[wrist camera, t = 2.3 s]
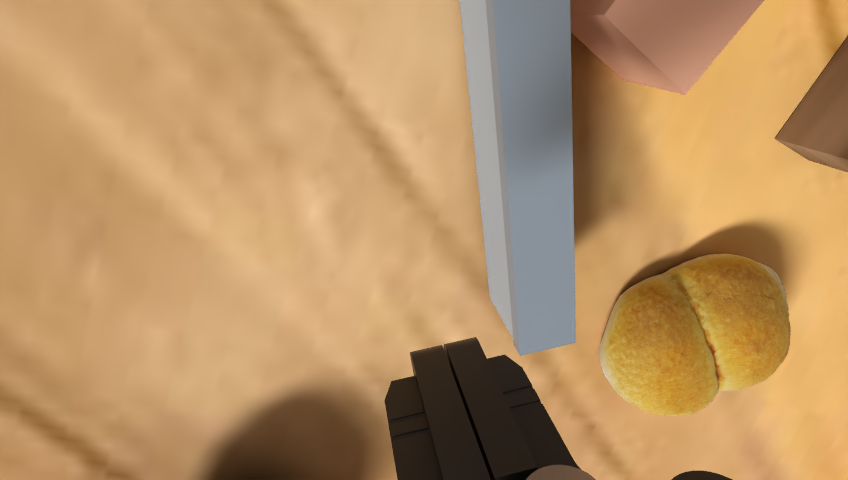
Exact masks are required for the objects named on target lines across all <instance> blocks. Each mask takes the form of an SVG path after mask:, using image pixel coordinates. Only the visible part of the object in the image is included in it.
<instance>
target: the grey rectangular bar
mask: <svg viewBox="0 0 848 480" xmlns="http://www.w3.org/2000/svg"><path fill="white" fill-rule="evenodd" d="M460 10H461V20H462V30H463V40H464V49H465V59H466V69H467V79H468V89H469V98H470V108H471V118H472V128H473V138H474V147H475V157H476V167H477V177H478V187H479V196H480V206H481V216H482V226H483V236H484V245H485V255H486V265H487V275H488V285H489V294H490V299H491V301H492V303H493V304H494V306H495V308H496V310H497V311H498V313H499V315H500V317H501V318H502V320H503V322H504V324H505V325H506V327H507V329H508V331H509V332H510V334H511V336H512V338H513V342H514V346H515V348H516V350H517V351H518V353H519V355H520V356H521V355H525V354H530V353H534V352H538V351H542V350H547V349H551V348H555V347H559V346H564V345H568V344H572V343H576V320H575V260H574V200H573V139H572V79H571V19H570V0H460Z"/></svg>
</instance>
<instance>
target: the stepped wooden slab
mask: <svg viewBox="0 0 848 480" xmlns="http://www.w3.org/2000/svg"><path fill="white" fill-rule="evenodd" d="M775 139H776V140H778V141H779V142H781V143H783V144H784V145H786V146H787V147H789V148H790V149H792V150H794V151H795V152H797V153H798V154H800V155H802V156H803V157H805V158H806V159H808V160H810V161H813V162H816V163H820V164H823V165H826V166H829V167H832V168H836V169H839V170H842V171H845V172H848V37H847V38H846V40H845V41H844V43H843V44H842V45H841V47H840V48H839V50H838V51H837V52H836V54H835V55H834V57H833V58H832V59H831V61H830V62H829V64H828V65H827V66H826V68H825V69H824V71H823V72H822V73H821V75H820V76H819V78H818V79H817V80H816V82H815V83H814V85H813V86H812V87H811V89H810V90H809V92H808V93H807V94H806V96H805V97H804V99H803V100H802V101H801V103H800V104H799V106H798V107H797V108H796V110H795V111H794V113H793V114H792V115H791V117H790V118H789V120H788V121H787V122H786V124H785V125H784V126H783V128H782V129H781V131H780V132H779V133H778V135H777V136H776V138H775Z"/></svg>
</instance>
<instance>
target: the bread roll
mask: <svg viewBox="0 0 848 480" xmlns="http://www.w3.org/2000/svg"><path fill="white" fill-rule="evenodd" d="M789 344H790V322H789V313H788V305H787V301H786V293H785V289H784V287H783V284H782V283H781V281H780V278H779V277H778V275H777V274H776V272H775V271H774V270H772V269H771V268H770V267H768V266H766V265H764V264H762V263H759V262H756V261H754V260H752V259H750V258H748V257H744V256H739V255H735V254H728V253H725V254H710V255H705V256H700V257H698V258H695V259H692V260H688V261H686V262H684V263H682V264H680V265H678V266H676V267H673V268H671V269H669V270H668V271H667V272H665V273H662V274H659V275H655V276H652V277H649V278H647V279H645V280H643V281H641V282H639V283H637V284H635V285H633V286H631V287H630V288H629V289H627V290H626V291H625V292H624V293H623V294H621V295H620V297H619V298H618V300H617V302H616V303H615V305H614V307H613V310H612V312H611V315H610V317H609V320H608V323H607V326H606V329H605V332H604V335H603V337H602V340H601V343H600V347H599V359H600V364H601V367H602V370H603V373H604V375H605V376H606V378H607V379H608V380H609V382H610V384H611V385H612V387H613V388H614V389H615V391H616V392H617V393H618V394H619V395H620V396H621V397H622V398H624V399H625V400H626V401H627V402H629V403H630V404H632V405H634V406H636V407H637V408H639V409H641V410H643V411H645V412H649V413H652V414H659V415H685V414H693V413H695V412H696V411H698V410H700V409H702V408H704V407H706V406H707V405H708V404H709V403H710V402H712V400H713V399H714V397H715V396H716V394H717V392H718V391H720V390H738V389H743V388H746V387H750V386H752V385H755V384H757V383H759V382H762V381H764V380H766V379H767V378H768V377H769V376H771V375H772V374H773V373H774V372H775V371H776V369H777V368H778V367H779V365H780V364H781V363H782V362H783V361H784V359H785V357H786V356H787V353H788V349H789Z"/></svg>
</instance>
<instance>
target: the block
mask: <svg viewBox="0 0 848 480" xmlns="http://www.w3.org/2000/svg"><path fill="white" fill-rule="evenodd" d="M763 1H764V0H570V19H571V33H572V34H573V35H574V36H575V37H576V38H578V39H579V40H580V41H581V42H582V43H583V44H584V45H585V46H586V47H587V48H588V49H589V50H590V51H592V52H593V53H594V54H595V55H596V56H597V57H598V58H599V59H600V60H601V61H602V62H603V63H604V64H605V65H607V66H608V67H609V68H610V69H611V70H612V71H613V72H614V73H615V74H616V75H617V76H618V77H619V78H620V79H622V80H624V81H628V82H633V83H637V84H641V85H646V86H650V87H654V88H658V89H663V90H667V91H671V92H675V93H680V94H684V95H685V94H686V93H687V92H688V90H689V89H690V88H691V87H692V86H693V85H694V83H695V82H696V81H697V80H698V79H699V77H700V76H701V75H702V74H703V73H704V71H705V70H706V69H707V68H708V67H709V65H710V64H711V63H712V62H713V61H714V59H715V58H716V57H717V56H718V55H719V54H720V52H721V51H722V50H723V49H724V48H725V46H726V45H727V44H728V43H729V42H730V40H731V39H732V38H733V37H734V36H735V34H736V33H737V32H738V31H739V30H740V28H741V27H742V26H743V25H744V24H745V23H746V21H747V20H748V19H749V18H750V17H751V15H752V14H753V13H754V12H755V11H756V9H757V8H758V7H759V6H760V5H761V3H762V2H763Z"/></svg>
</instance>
